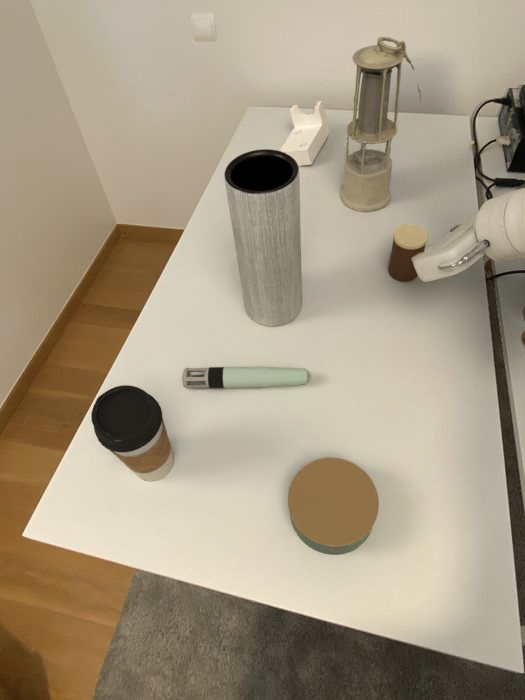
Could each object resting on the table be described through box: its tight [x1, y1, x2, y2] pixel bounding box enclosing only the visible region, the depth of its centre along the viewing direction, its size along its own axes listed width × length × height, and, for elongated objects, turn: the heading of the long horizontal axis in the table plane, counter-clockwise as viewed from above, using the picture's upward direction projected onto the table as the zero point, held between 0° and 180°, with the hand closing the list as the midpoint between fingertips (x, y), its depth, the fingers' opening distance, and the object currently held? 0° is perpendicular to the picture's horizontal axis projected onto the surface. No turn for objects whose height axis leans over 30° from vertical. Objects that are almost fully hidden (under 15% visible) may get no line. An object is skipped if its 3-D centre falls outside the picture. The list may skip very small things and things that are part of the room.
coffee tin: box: [287, 457, 380, 556], centre depth 64 cm, size 11×11×4 cm
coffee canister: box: [387, 223, 429, 283], centre depth 87 cm, size 6×6×8 cm
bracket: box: [279, 100, 330, 167], centre depth 112 cm, size 13×7×8 cm, turn 158°
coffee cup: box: [90, 384, 175, 482], centre depth 66 cm, size 8×8×15 cm
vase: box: [223, 148, 303, 327], centre depth 77 cm, size 10×10×27 cm
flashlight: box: [181, 366, 312, 389], centre depth 78 cm, size 3×4×20 cm
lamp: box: [340, 36, 422, 213], centre depth 91 cm, size 10×13×30 cm
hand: (435, 246), depth 80 cm, fingers open, 8 cm apart
